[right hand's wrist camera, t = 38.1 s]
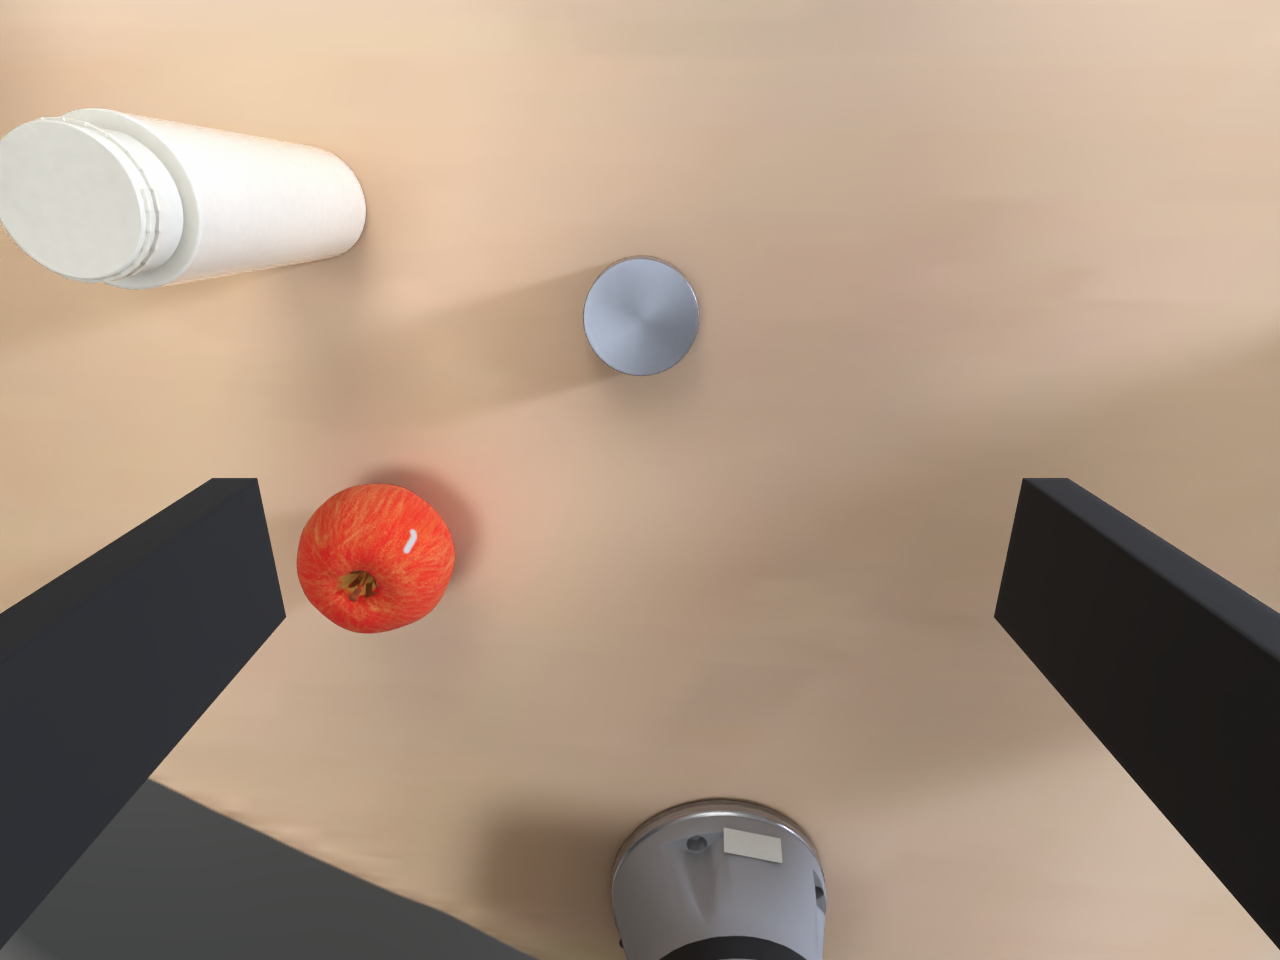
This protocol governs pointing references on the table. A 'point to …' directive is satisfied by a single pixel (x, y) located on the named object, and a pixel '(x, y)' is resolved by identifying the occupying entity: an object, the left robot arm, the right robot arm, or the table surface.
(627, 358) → the lid
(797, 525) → the table surface
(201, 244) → the white bottle
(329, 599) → the apple
